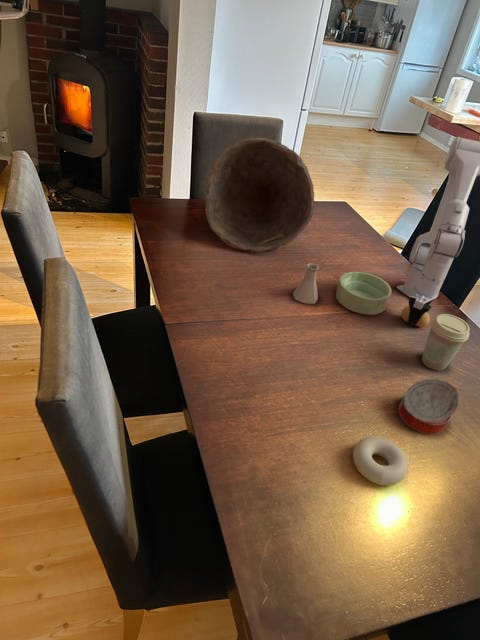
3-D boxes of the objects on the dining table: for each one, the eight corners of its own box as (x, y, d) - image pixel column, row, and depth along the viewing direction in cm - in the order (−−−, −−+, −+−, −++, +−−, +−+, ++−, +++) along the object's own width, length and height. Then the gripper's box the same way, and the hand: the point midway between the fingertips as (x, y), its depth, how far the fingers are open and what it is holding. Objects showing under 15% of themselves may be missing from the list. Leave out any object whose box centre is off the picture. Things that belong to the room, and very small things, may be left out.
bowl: (280, 133, 166) (273, 111, 137) (331, 217, 168) (335, 213, 139) (201, 187, 174) (178, 178, 144) (251, 268, 176) (238, 274, 147)
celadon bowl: (361, 284, 141) (366, 268, 138) (395, 309, 132) (402, 293, 128) (325, 293, 134) (329, 276, 131) (358, 321, 125) (364, 304, 122)
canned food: (435, 446, 99) (459, 436, 90) (389, 428, 100) (408, 417, 91) (444, 397, 104) (467, 383, 95) (400, 381, 105) (419, 365, 96)
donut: (393, 444, 92) (344, 443, 90) (399, 433, 90) (349, 431, 88) (412, 490, 84) (359, 489, 82) (419, 478, 82) (365, 477, 80)
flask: (317, 307, 128) (325, 275, 122) (291, 301, 128) (298, 269, 123) (318, 293, 134) (327, 262, 128) (293, 287, 134) (301, 257, 128)
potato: (397, 321, 127) (402, 307, 124) (401, 314, 130) (407, 300, 128) (424, 332, 124) (430, 319, 122) (428, 324, 128) (434, 311, 125)
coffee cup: (408, 354, 116) (426, 315, 109) (434, 348, 119) (453, 310, 112) (432, 377, 110) (452, 337, 103) (459, 371, 113) (480, 331, 106)
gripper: (424, 259, 125) (407, 301, 133) (409, 280, 115) (392, 325, 123) (450, 269, 123) (432, 311, 131) (438, 291, 112) (418, 336, 120)
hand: (414, 318), depth 127 cm, fingers closed on potato, 4 cm apart
